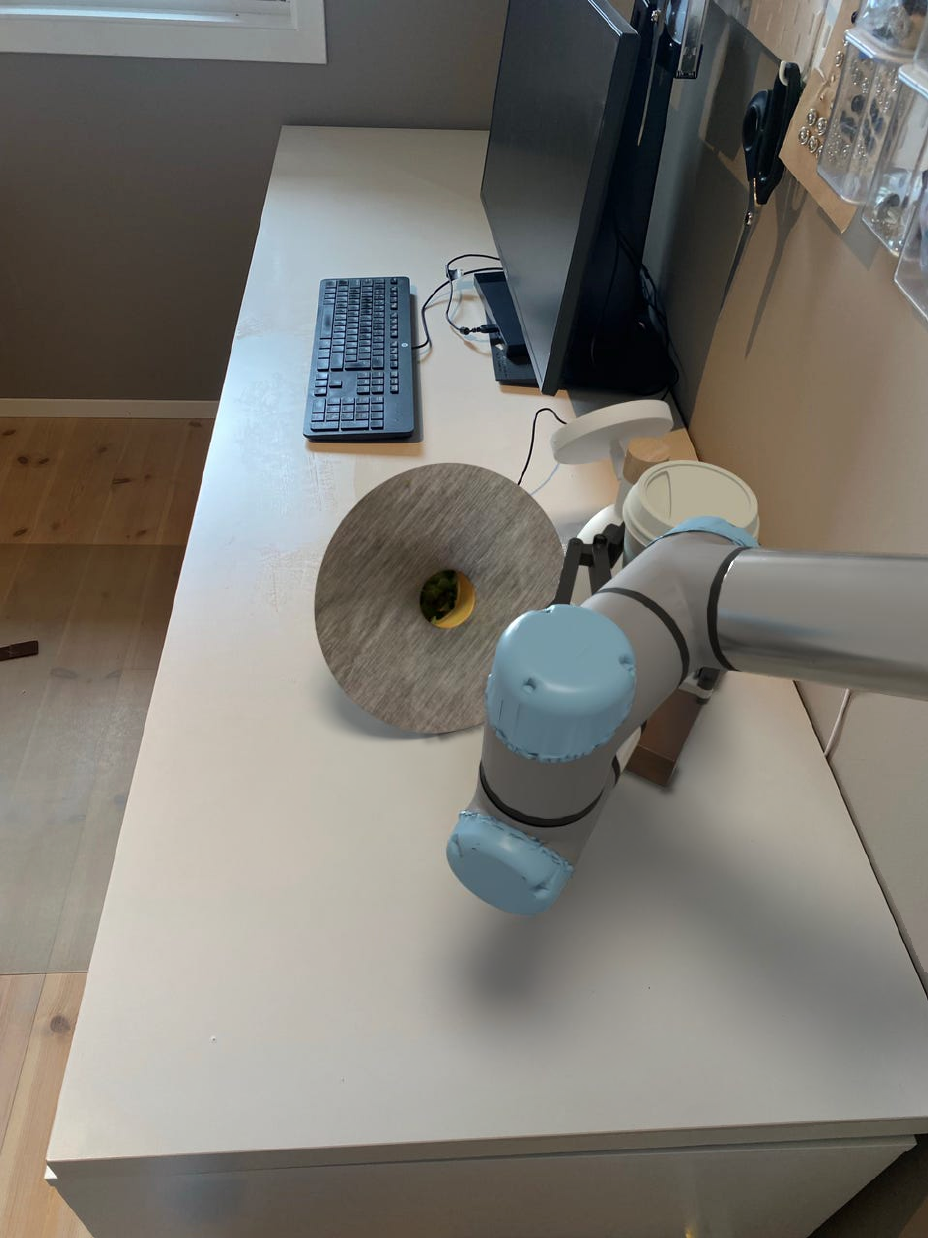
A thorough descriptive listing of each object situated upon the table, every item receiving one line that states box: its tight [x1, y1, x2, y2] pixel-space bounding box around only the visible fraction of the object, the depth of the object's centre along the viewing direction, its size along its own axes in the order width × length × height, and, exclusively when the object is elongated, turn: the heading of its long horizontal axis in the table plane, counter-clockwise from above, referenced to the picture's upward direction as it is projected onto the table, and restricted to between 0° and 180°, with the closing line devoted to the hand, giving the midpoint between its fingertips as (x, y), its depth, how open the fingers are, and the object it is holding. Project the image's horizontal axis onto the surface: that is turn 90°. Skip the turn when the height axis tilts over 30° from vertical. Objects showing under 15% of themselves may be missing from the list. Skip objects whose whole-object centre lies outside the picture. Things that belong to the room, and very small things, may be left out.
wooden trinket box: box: [624, 688, 704, 788], centre depth 88 cm, size 12×16×4 cm
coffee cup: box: [622, 459, 760, 569], centre depth 75 cm, size 11×11×15 cm
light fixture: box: [549, 399, 674, 606], centre depth 95 cm, size 13×21×20 cm
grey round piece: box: [313, 462, 565, 734], centre depth 89 cm, size 25×18×25 cm
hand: (694, 533), depth 77 cm, fingers closed on coffee cup, 9 cm apart
